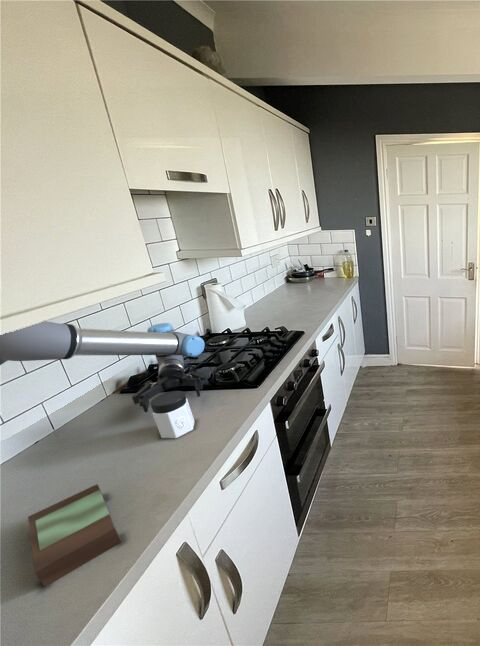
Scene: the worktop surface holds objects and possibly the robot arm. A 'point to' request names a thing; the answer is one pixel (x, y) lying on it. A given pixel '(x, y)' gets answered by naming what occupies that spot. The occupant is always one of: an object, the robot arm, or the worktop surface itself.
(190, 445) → the worktop surface
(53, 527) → the green-topped wooden base
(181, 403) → the jar
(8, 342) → the robot arm
